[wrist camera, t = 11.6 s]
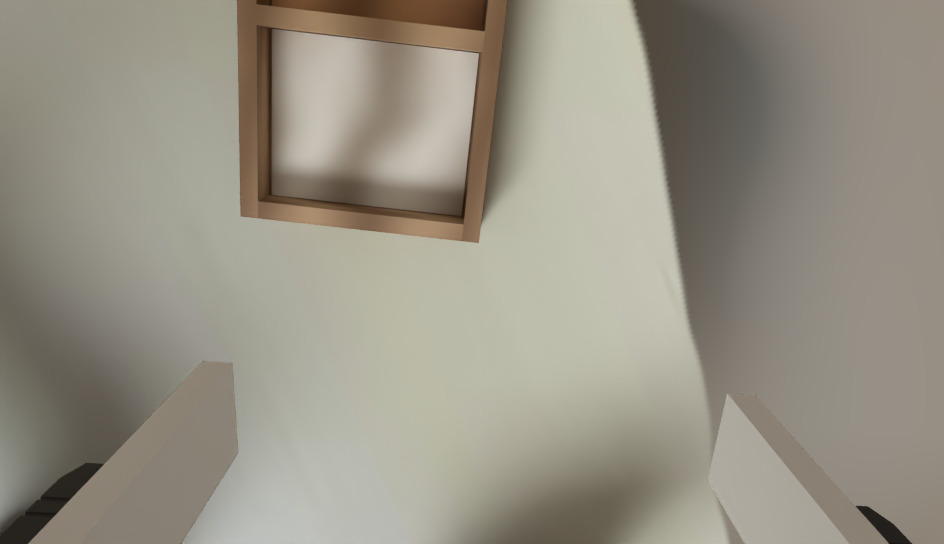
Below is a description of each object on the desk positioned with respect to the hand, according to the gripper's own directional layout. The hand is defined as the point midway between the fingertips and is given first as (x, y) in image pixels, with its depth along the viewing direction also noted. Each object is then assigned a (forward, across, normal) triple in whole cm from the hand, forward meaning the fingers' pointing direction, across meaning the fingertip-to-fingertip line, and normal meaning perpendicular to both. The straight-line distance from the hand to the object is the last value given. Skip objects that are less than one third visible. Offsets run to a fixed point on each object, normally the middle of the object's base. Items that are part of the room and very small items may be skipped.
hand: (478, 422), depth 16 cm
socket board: (+23, -6, +11) cm, 26 cm away
